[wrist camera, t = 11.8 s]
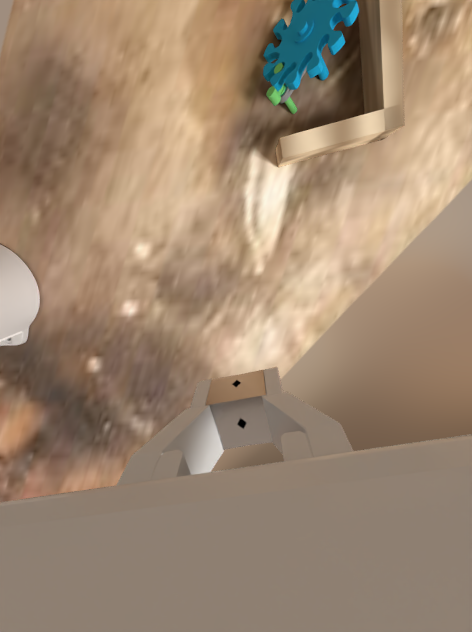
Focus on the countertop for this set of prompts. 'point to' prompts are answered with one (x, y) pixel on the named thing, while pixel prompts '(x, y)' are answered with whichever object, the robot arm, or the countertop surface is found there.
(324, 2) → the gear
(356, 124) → the carrier pocket
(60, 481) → the countertop surface
